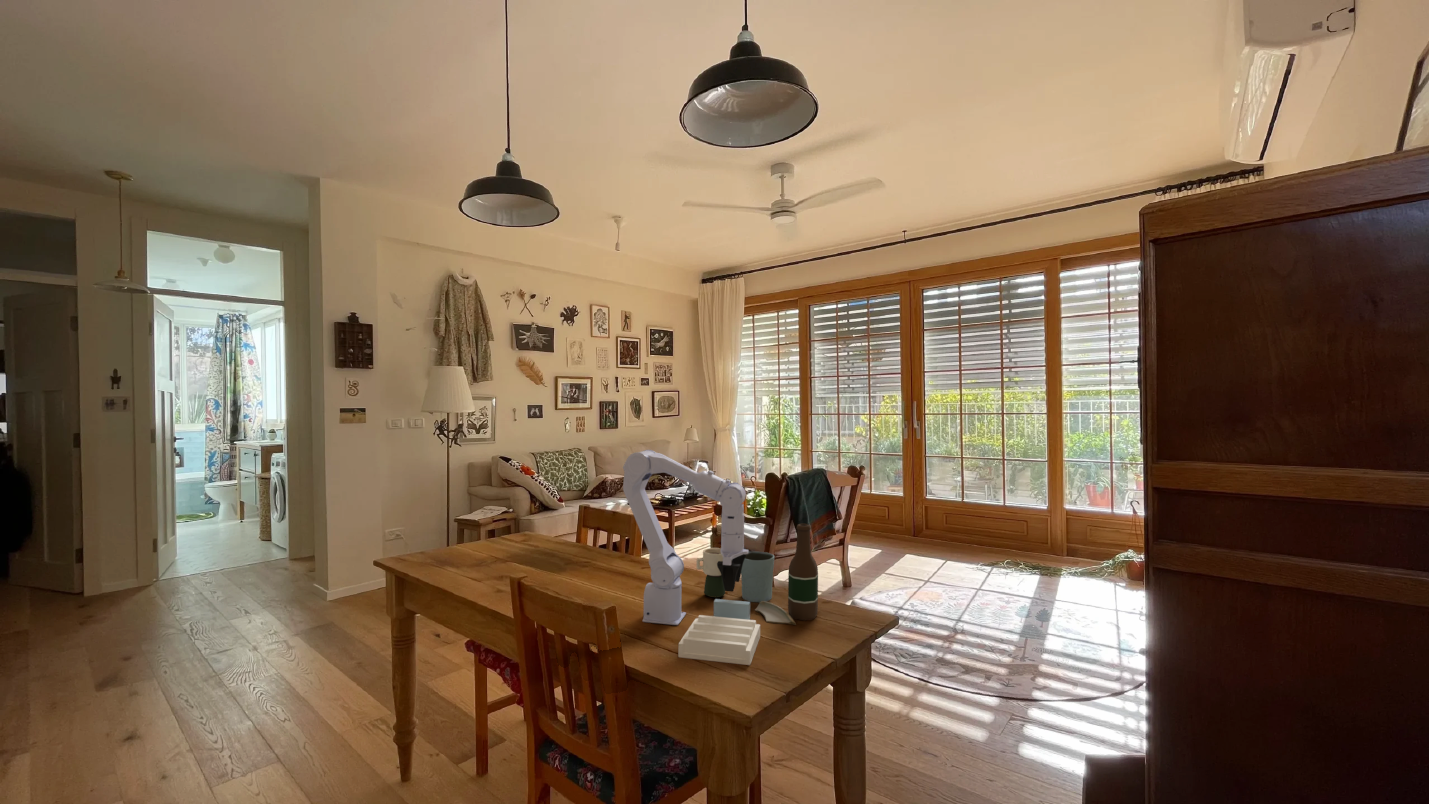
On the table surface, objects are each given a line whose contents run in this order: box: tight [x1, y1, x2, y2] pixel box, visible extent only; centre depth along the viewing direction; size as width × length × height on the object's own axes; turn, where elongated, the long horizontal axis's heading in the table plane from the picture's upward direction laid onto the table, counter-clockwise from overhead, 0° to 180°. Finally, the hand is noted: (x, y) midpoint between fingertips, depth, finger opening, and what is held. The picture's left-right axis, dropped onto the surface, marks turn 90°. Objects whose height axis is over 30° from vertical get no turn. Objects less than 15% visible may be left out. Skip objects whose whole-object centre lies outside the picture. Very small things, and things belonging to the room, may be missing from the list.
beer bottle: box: [787, 523, 819, 621], centre depth 151 cm, size 8×8×24 cm
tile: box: [713, 598, 751, 620], centre depth 144 cm, size 9×2×6 cm, turn 77°
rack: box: [677, 614, 761, 666], centre depth 131 cm, size 16×15×4 cm
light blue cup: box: [740, 551, 775, 603], centre depth 165 cm, size 10×10×12 cm
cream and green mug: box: [696, 547, 726, 598], centre depth 166 cm, size 11×7×13 cm, turn 104°
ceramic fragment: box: [754, 601, 797, 626], centre depth 149 cm, size 14×5×4 cm, turn 36°
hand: (732, 586), depth 144 cm, fingers open, 7 cm apart
